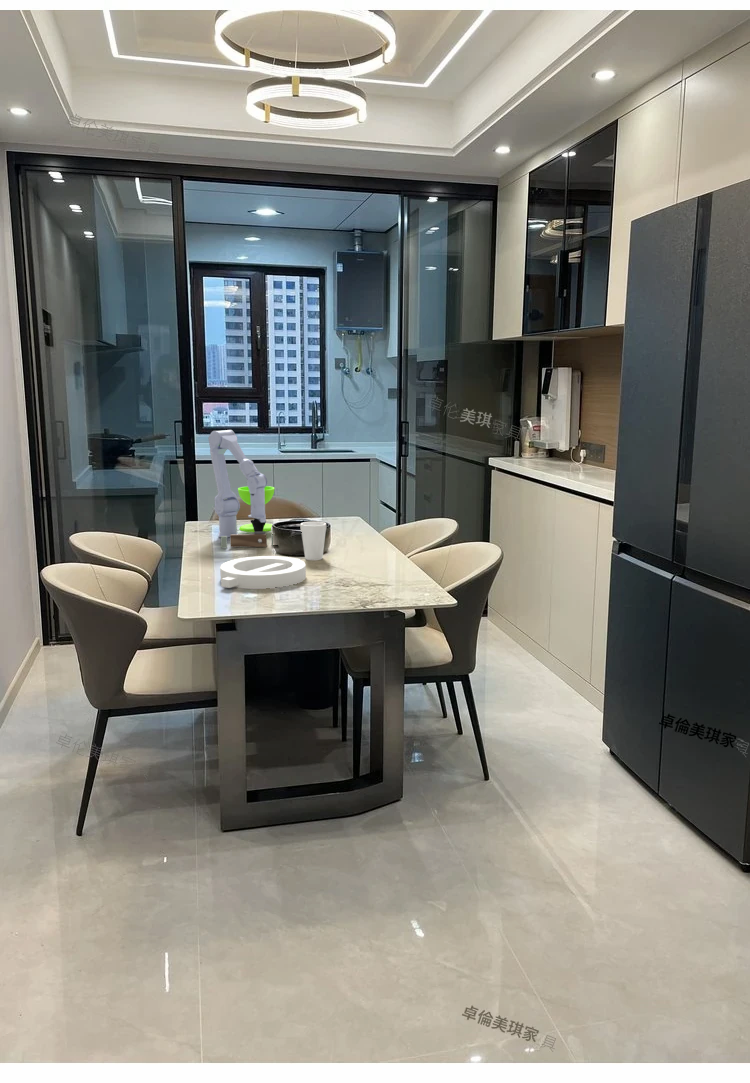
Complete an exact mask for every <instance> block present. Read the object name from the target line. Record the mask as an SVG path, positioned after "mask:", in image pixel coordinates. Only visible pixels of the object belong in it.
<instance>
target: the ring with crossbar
mask: <svg viewBox="0 0 750 1083" xmlns="http://www.w3.org/2000/svg"><path fill="white" fill-rule="evenodd" d="M306 567H307V566H306V563H305V561H303V560H302V558H297V557H291V556H289V557H288V556H280V555H279V556H278V555H260V556H259V555H257V556H248V557H239V558H235V559H231V560H228V561H226V562H225V561H224V562H222V563H221V565H220V568H219V570H220V584H221V585H220V586H221V587H222V588H228V589H231V588H237V587H238V589H247V590H248V589H249V590H250V589H251V590H267V589H266V588H270V589H276V588H275V587H280V588H284V587H283V586H286V587H290V586H289V585H291V586H294V585H293V584H295V585H298V584H300V583H302V582H303V580H304V581H306V577H307V575H306V574H307V570H306V569H307V568H306ZM297 583H298V584H297Z"/></svg>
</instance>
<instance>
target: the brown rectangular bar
mask: <svg viewBox="0 0 750 1083" xmlns="http://www.w3.org/2000/svg"><path fill="white" fill-rule="evenodd" d="M229 538H230V540H229V541H230V542H229V543H230V548H235V547H236V548H242V547H243V548H247V547H248V548H252V547H254V548H257V547H258V548H259V547H260V548H261V547H262V548H263V547H267V546H268V539H267V538H268V537H267V533H265V534H253V533H251V534H249V533H248V534H247V533H246V534H245V533H242V534H239V533H238V534H231V535H230V537H229Z"/></svg>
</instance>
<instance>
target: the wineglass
mask: <svg viewBox="0 0 750 1083" xmlns="http://www.w3.org/2000/svg"><path fill="white" fill-rule="evenodd" d="M264 491H265V505H266V504H268V503H269V502H270V501H271V500H272V498H273V496H274V494H275V487H274V486H270V485H269V486H268V485H267V486H266V487H265V488H264ZM237 492H238V495H239V497H240V499H241V500H242V501H243V502H244V503H245V504H247V505H248V506H251V499H250V492H249V488H248V486H247V485H246V486H240V487H238V488H237ZM272 525H273V524H272V523H265V525H264V528H263V531H265V533H266V532H271V527H272ZM239 531H241V532H247V533H254V528H253V525H252V523H247V524H242V525H241V526H239Z"/></svg>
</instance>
